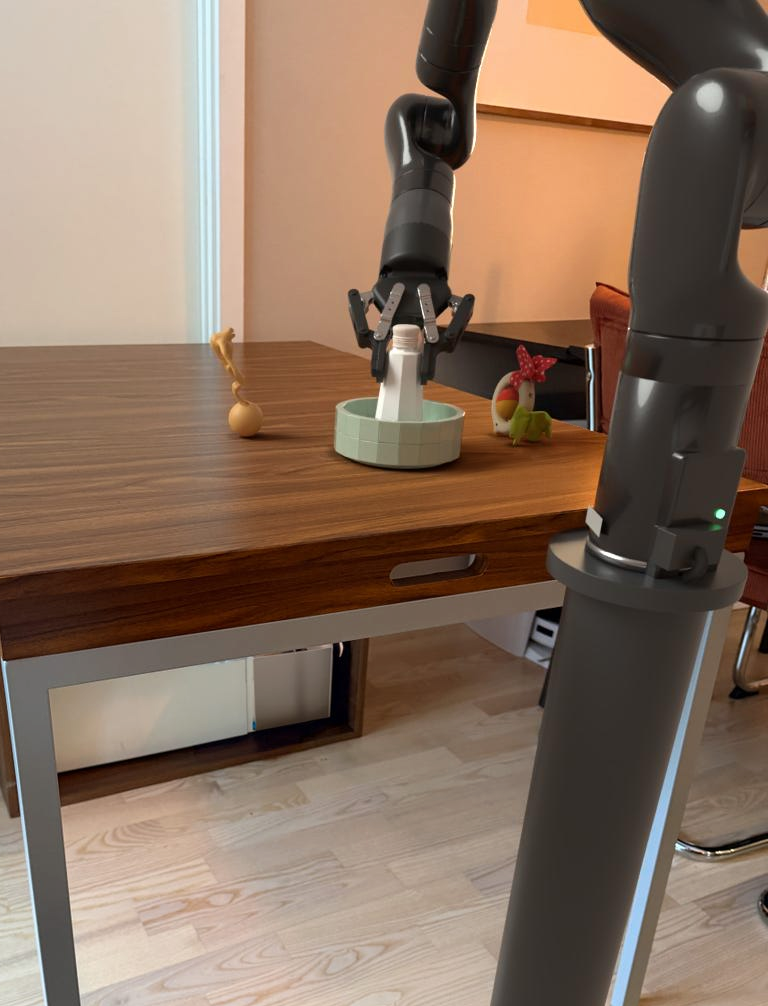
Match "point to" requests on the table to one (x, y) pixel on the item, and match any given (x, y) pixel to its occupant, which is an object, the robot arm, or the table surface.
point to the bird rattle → (521, 400)
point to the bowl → (398, 435)
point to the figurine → (236, 387)
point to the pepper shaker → (402, 378)
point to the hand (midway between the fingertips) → (401, 378)
